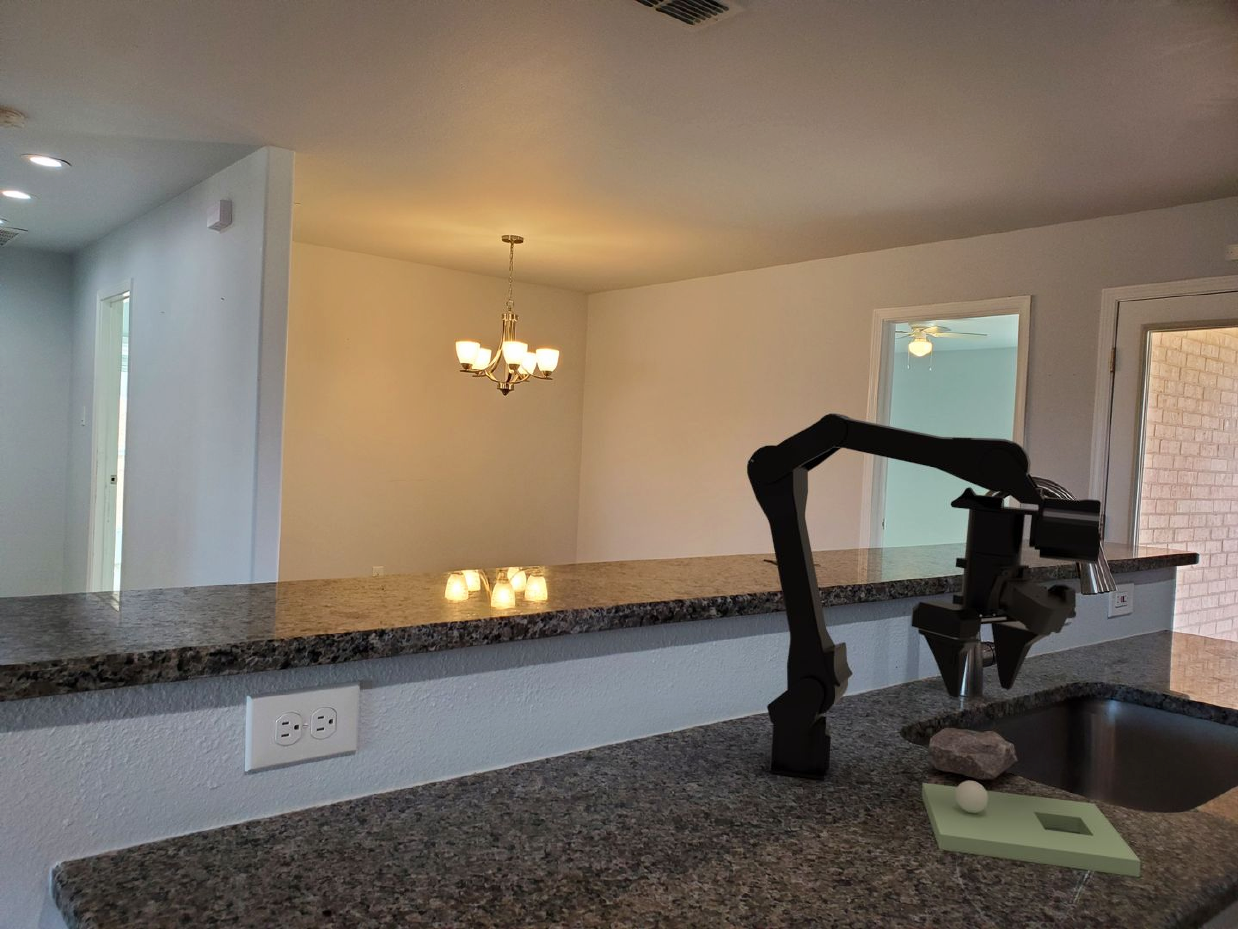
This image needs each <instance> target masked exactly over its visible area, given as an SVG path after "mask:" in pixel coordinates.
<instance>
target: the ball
mask: <svg viewBox="0 0 1238 929" xmlns="http://www.w3.org/2000/svg"><path fill="white" fill-rule="evenodd" d="M956 787H957V789H956V793H955V797H956V801H957V803H958V805H959V806H960V807H961V808H962V809H963V810H965V811H967V812H969V813H978V812H980V811H982V810H983V809H984V808H985V807H986V805H987V803H988V795H987V792H986V791H987V790H986V788H985V787H984V786H983V785H982V784H980V783H979V782H977V781H975V780H965V781H962V782H961V783H959V785H958V786H956Z"/></svg>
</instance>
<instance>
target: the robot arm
mask: <svg viewBox="0 0 1238 929" xmlns="http://www.w3.org/2000/svg"><path fill="white" fill-rule="evenodd" d="M841 449H847V450H851V451H856V452H860V453H865V454H868V455H869V454H870V455H873V456H879V457H883V458H888V459H891V460H893V459H894V460H897V461H902V462H906V463H907V462H908V463H910V464H911V463H912V464H915V465H920V466H925V467H930V468H933V469H937V470H939V471H942V472H944V473H945V474H946V473H947V474H949V475H952V476H954V477H956V478H958V479H961V480H963V481H965V482H968V483H971V484H973V485H975V486H978V487H980V488H983V489H985V490H988V491H990V492H995V493H996V492H997V493H1002V492H1005V493H1006V494H1008V495H1009V496H1011V497H1012V498H1013V499H1015V501H1017V502H1018V503H1020V504H1023V505H1024V504H1025V505H1035V506H1037V507H1038V508H1037V509H1033V508H1022V507H1013V506H1007V505H1006V506H1005V497H1004V496H996V495H995V496H994V495H983V494H977V493H976V492H975V491H974V489H973V488H972V487H966V488H965V489H964V491H962V492H963V493H961V495H959V496H958V497H957V498H955V499H953V500H952V501H951V502H950V506H951V508H954V509H955V508H956V509H962V510H963V509H964V510H968V519H967V529H966V530H967V531H966V539H965V540H966V541H965V552H964V557H956V559H955V568H958V569H959V568H960V569H963V572H962V573H963V575H962V583H961V584H962V585H961V593H956V594H955V593H954V594H952V602H948V601H944V600H939V599H938V600H925V601H919V602H918V603H917V604H915V605H914V606H913V607H912V610H911V621H910V622H911V623H910V626H911V627H913V628H916V629H918V630H917V631H918V634H919V635H921V636H923V637H924V639H925V641H926V643H927V645H928V647H929V649H930V652H931V654H932V656H933V658H934V659H935V660H934V661H935V664H936V665H937V668H938V670H939V673H940V675H941V678H942V680H943V683H944V686H945V688H946V691H947V693H948V695H949V696H950V697H953V698H956V699H957V698H959V697H960V695H961V691H962V687H963V684H964V683H963V682H964V678H965V672H966V667H967V661H968V654H969V652H970V650H972V649H973V648H974V647H975V646H977V645H978V644H979V643H980V642H981V639H980V638H976V636H977V635H978V633H979V632H980V630H981V629H982V628H981V627H982V625H991V631H992V633H991V634H992V639H993V645H994V646H993V647H994V653H995V660H996V661H995V662H996V669H997V674H998V680H999V686H1000V687H1001V688H1002V689H1005V690H1012V688H1013V686H1014V683H1015V681H1016V679H1017V677H1018V675H1019V673H1020V672H1021V668H1022V666H1023V664H1024V662H1025V660H1026V658H1027V655H1029V654H1028V653H1029V651H1030V650H1031V648H1032V646H1033V645H1034V644H1035V643H1037V642H1040V640H1042V639H1044V638H1046V637H1049V636H1050V635H1051V634H1052V633H1054V634H1060V633H1061V632H1062V629H1063V627H1064V625H1065V624H1066V621H1067V620H1068V619H1075V618H1076V616H1077V612H1076V607H1077V600H1076V599H1077V596H1076V590H1075V589H1074V588H1072V587H1071V586H1070V585H1067V584H1066V583H1058V584H1057V583H1056V584H1053V585H1052V586H1051V587H1049V588H1048V587H1047V586H1046V585H1038V584H1036V583H1034V582H1033V581H1031V579H1032V578H1031V576H1032V575H1031V574H1032V570H1031V569H1030V565H1028V564H1023V563H1022V554H1023V542H1024V529H1025V519H1026V516H1031V518H1030V519H1031V520H1030V527H1029V538H1028V539H1029V540H1028V547H1029V548H1030V549H1031V548H1033V549H1034V550H1036V551H1039V555H1038V556H1039V559H1046V560H1054V561H1055V560H1056V561H1063V562H1064V561H1065V562H1071V563H1079V564H1086V565H1087V564H1089V565H1098V563H1099V554H1100V547H1101V546H1100V544H1101V536H1102V531H1101V530H1100V522H1101V506H1102V502H1101V501H1100V500H1099V499H1091V498H1085V499H1070V498H1060V497H1049V496H1045V494H1044V493H1043V487H1039V486H1038V483H1036V481H1035V480H1034V478H1033V476H1032V475H1031V473H1030V471H1031V459H1030V456H1029V454H1028V453H1027V451H1026V449H1025V448H1024V447H1023V446H1022V445H1020V444H1019V443H1017V442H1014V441H1012V440H1009V439H1006V438H997V437H996V438H995V437H994V438H992V437H988V438H987V437H960V436H959V437H956V436H955V437H954V436H950V437H949V436H939V435H935V434H934V435H933V434H928V433H924V432H919V431H914V430H911V429H905V428H899V427H894V426H891V425H890V426H889V425H885V424H884V425H883V424H879V423H875V422H868V421H865V420H859V419H854V418H852V417H849V416H847V415H845V414H840V413H828V414H826V415H825V414H824V415H823V416H822V417H821V418H820V419H819V420H818V421H816V422H815V423H813V424H811V425H810V426H808V427H805V429H802V430H801V431H799V432H797V433H795V434H793V435H791V436H789V437H787V438H786V439H784V440H782V441H781V442H780V443H778V444H776V445H775V444H774V445H773V444H771V445H770V444H769V445H764V446H761V447H758V449H757V450H755V451H754V452H753V453H752V454H751V456H750V458H749V459H748V460H747V465H746V473H747V478H748V481H749V483H750V485H751V489H752V491H753V494H754V496H755V499H756V501H757V503H758V505H759V506H760V508H761V510H762V511H763V513H764V515H765V518H766V519H767V521H768V524H769V529H770V535H771V540H772V545H773V551H774V555H775V560H776V561H775V562H776V567H777V572H778V577H779V583H780V587H781V593H782V599H783V604H784V610H785V615H786V621H787V626H788V631H789V646H788V652H787V653H788V654H787V661H786V680H787V681H786V687H787V688H786V689H787V690H785V691H783V692H782V693H781V694H780V695H779V696H777V697H776V698H775V699H773V700H772V701H771V702H769V703H768V704H767V706H766V707H767V709H766V710H767V712H768V716H769V719H770V722H771V723H772V733H771V738H772V739H771V749H770V750H771V752H770V760H769V766H768V767H769V768H768V773H770V774H775V775H780V776H781V775H782V776H790V777H798V778H799V777H800V778H806V779H813V780H822V781H823V780H826V771H829V769H830V762H831V760H830V757H831V741H832V735H831V730H830V729H827V717H826V716H824V715H825V714H827V713H828V712H829V711H830V710H831V709H832V707H834V706H835V704H837V703H838V702H839V701H840V700H841V699H842V697H843V696H844V695H845V694H846V691H847V690H848V687H849V679H850V678H851V677H852V676H853V674H854V673H853V671H852V670H851V668H850V666H849V663H848V657H847V656H848V655H847V651H848V650H847V643H846V642H844V641H843V642H840V643H836V644H835V642H834V640H833V639H832V637H831V635H830V634H829V632H828V628H827V626H826V620H825V616H824V610H823V605H822V601H821V600H822V599H821V595H820V589H819V583H818V578H817V572H816V568H815V562H814V558H813V551H812V547H811V542H810V540H811V539H810V537H809V536H810V535H809V530H808V525H807V520H806V509H807V504H808V503H807V501H808V496H809V495H808V494H809V472H810V471H811V470H813V469H815V468H817V467H818V466H819V465H822V464H823V463H824V462H825V461H826V460H828V459H829V458H830V457H831V456H833V455H834V454H835V453H836V452H839V450H841Z"/></svg>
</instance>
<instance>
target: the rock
mask: <svg viewBox="0 0 1238 929" xmlns="http://www.w3.org/2000/svg"><path fill="white" fill-rule="evenodd" d="M928 754H929V756H930V759H931V762H932V766H934V768H935V769H936V770H937V771H942V772H947V773H955V774H961V775H963V776H965V777H970V778H974V779H976V780H995V779H996V778H997V777H998V776H1000V775H1001V774H1002V773H1003V772H1004V771H1006V770H1008V769H1009V768H1010V767H1011V766H1012V764H1013V763H1016V762H1018V761H1019V760H1018V758H1017V755H1016V749H1015V744H1013V743H1011V742H1008V740H1007V741H1006V740H1005V738H1003V737H1002V736H1001V735H1000V734H999V733H997V732H995V731H994V730H993V731H990V730H988V731H983V732H980V731H976V730H972V729H959V728H955V727H951V728H950V727H946V728H942V729H941V731H938V732H937V733H936V734H934V735H932V736H931V737H930V740H929V746H928Z"/></svg>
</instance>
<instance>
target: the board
mask: <svg viewBox="0 0 1238 929" xmlns="http://www.w3.org/2000/svg"><path fill="white" fill-rule="evenodd" d="M921 785H922V786H921V787H922V788H921V798H922V800H923V805H924V807H925V809H926V812H927V816H928V819H929V822H930V825H931V828H932V831H933V833H934V837H935V840H936V843H937V846H938V849H939V850H943V851H950V852H958V853H965V854H970V855H980V856H985V857H994V858H1000V859H1005V860H1015V861H1022V862H1030V863H1036V864H1043V865H1048V866H1049V865H1050V866H1057V867H1064V868H1072V869H1079V870H1086V871H1091V872H1092V871H1094V872H1100V873H1108V874H1114V875H1115V874H1116V875H1122V876H1129V877H1137V878H1140V873H1141V859H1140V858H1139V857H1138V856H1137V854H1136V853H1135V852H1134V850H1132V848H1131V847H1130V846H1129V845H1128V843H1127V842H1126V841H1125V839H1123V837H1122V836H1121V835H1120V834H1119V832H1118V831H1117V830H1116V828H1115V827H1114V826H1113V825H1112V823H1111V822H1110V821H1109V819H1107V817H1106V816H1105V815H1104V814H1103V813H1102V812H1101V810H1100V809H1099V808H1098V806H1097V805H1096V804H1095V803H1090V802H1082V801H1074V800H1065V799H1057V798H1051V797H1044V796H1043V797H1041V796H1034V795H1026V794H1018V793H1010V792H1009V793H1008V792H1000V791H991V790H986V792H987V795H988V803H987V805H986V807H985V808H984V809H983V810H982V811H980V812H978V813H969V812H967V811H965V810H963V809H962V808H961V807H960V806H959V805H958V803H957V801H956V797H955V793H956V789H957V787H958V786H950V785H943V784H936V783H926V782H922V784H921Z"/></svg>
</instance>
